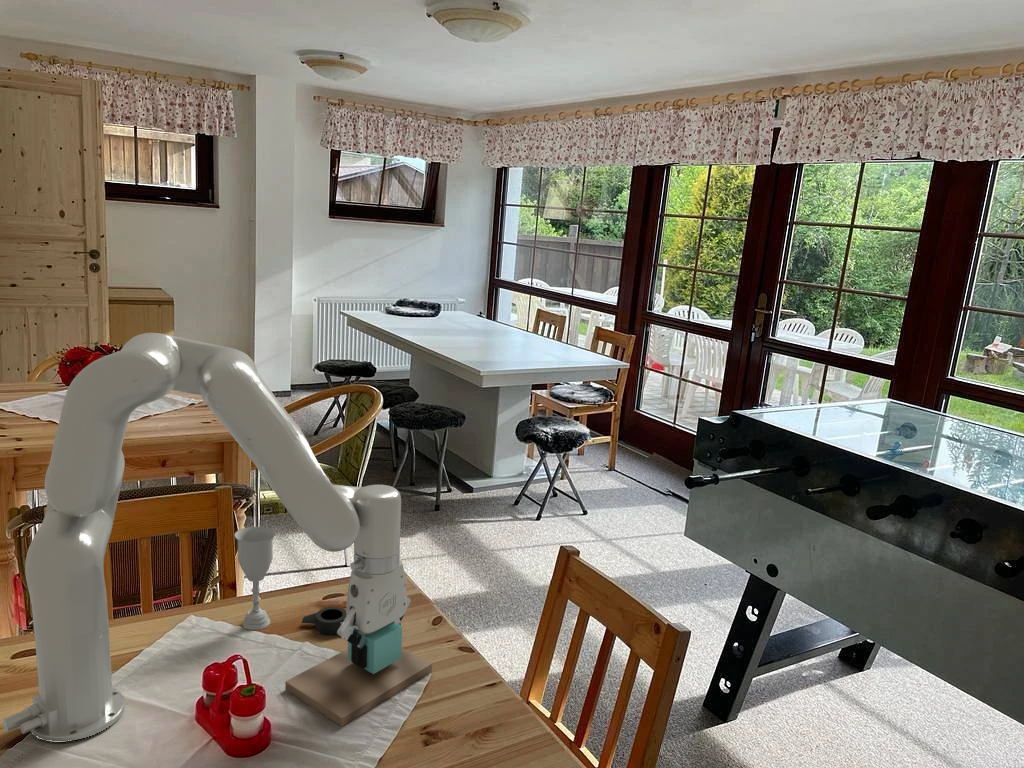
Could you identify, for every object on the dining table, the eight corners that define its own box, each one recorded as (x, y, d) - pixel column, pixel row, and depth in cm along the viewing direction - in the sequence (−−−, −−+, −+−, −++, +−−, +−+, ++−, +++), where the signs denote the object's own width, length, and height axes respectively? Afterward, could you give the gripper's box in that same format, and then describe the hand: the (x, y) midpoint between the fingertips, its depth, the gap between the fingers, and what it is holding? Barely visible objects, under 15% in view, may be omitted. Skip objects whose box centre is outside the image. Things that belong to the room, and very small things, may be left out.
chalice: (283, 617, 149) (282, 530, 145) (263, 635, 143) (262, 544, 139) (249, 610, 151) (248, 524, 147) (228, 627, 144) (226, 537, 141)
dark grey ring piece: (330, 611, 153) (330, 598, 152) (364, 630, 147) (365, 616, 146) (298, 626, 147) (298, 612, 146) (332, 646, 141) (332, 632, 140)
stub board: (341, 726, 119) (342, 695, 118) (285, 689, 127) (285, 659, 126) (431, 671, 135) (432, 642, 134) (376, 641, 143) (376, 614, 142)
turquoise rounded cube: (373, 674, 129) (374, 641, 127) (347, 659, 132) (348, 627, 131) (401, 658, 134) (402, 626, 132) (375, 644, 137) (376, 613, 136)
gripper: (351, 584, 120) (350, 687, 124) (429, 550, 134) (425, 644, 137) (320, 569, 124) (320, 669, 128) (398, 537, 138) (395, 628, 142)
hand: (374, 655), depth 133 cm, fingers closed on turquoise rounded cube, 6 cm apart
